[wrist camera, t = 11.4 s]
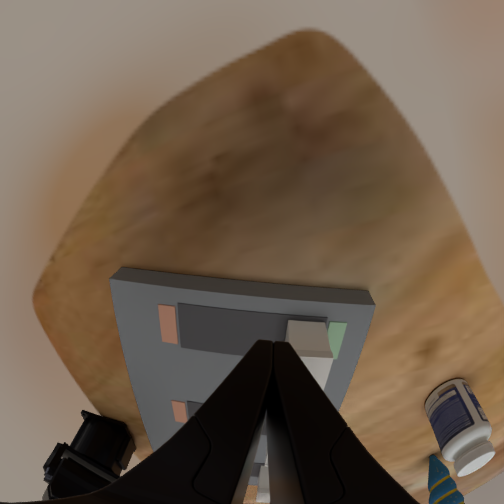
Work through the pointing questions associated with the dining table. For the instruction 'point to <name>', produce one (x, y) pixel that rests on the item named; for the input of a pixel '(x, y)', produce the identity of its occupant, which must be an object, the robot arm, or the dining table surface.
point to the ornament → (442, 484)
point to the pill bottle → (460, 426)
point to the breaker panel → (220, 338)
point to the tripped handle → (311, 347)
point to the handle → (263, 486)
